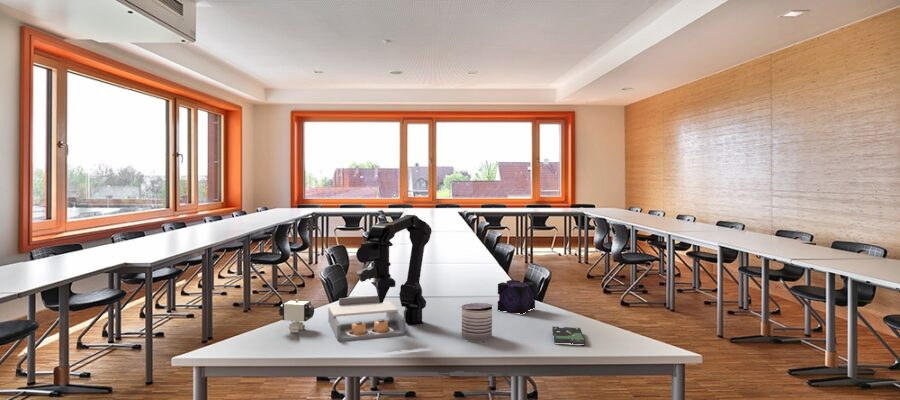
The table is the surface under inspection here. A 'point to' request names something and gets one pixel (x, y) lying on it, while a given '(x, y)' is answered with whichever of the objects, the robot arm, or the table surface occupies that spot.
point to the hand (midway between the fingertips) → (381, 302)
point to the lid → (361, 306)
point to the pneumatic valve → (296, 313)
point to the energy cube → (516, 296)
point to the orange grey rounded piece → (381, 326)
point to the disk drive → (568, 335)
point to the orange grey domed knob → (359, 328)
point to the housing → (367, 328)
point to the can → (477, 322)
